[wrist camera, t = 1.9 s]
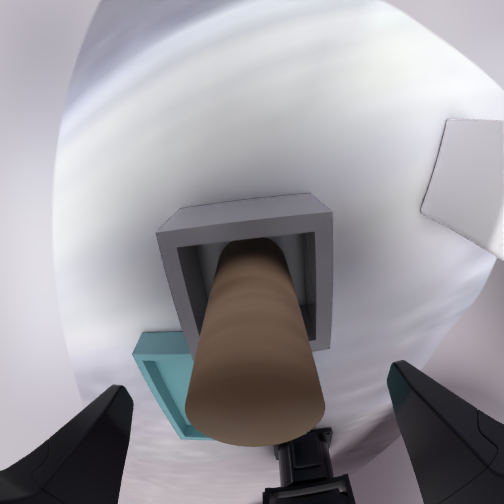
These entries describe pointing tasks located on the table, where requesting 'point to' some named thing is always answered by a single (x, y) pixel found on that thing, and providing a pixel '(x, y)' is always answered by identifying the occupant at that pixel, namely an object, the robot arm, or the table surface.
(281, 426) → the walnut dowel
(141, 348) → the tray
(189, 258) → the grey square open box
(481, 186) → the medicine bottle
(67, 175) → the table surface
